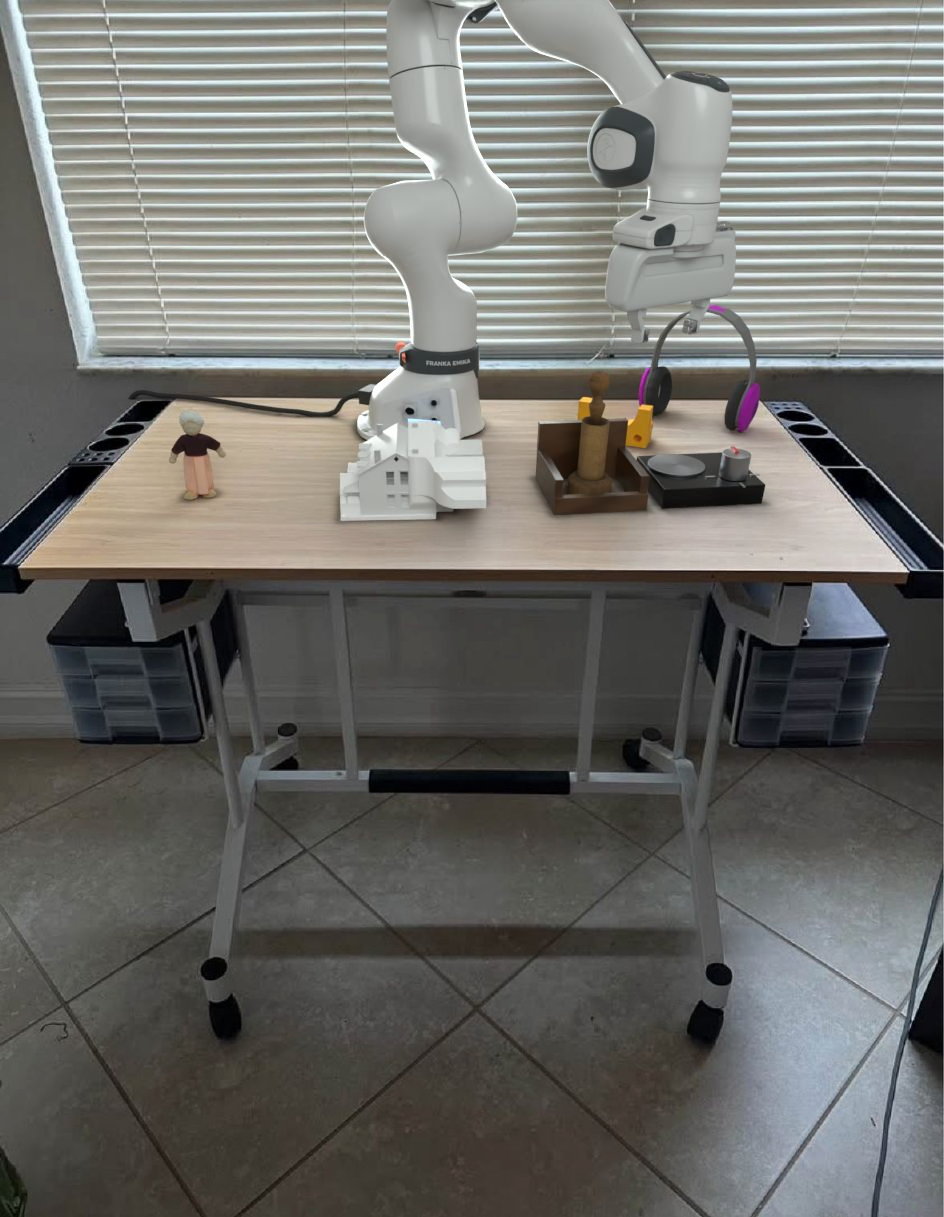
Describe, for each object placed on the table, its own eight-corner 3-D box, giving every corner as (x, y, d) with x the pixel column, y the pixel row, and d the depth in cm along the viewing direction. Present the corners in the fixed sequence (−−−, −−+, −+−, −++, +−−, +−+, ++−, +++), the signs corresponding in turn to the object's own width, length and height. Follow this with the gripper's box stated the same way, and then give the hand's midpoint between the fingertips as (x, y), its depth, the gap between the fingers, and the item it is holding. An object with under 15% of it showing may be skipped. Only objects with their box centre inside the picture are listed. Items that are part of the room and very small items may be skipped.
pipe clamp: (650, 439, 144) (655, 402, 141) (645, 448, 141) (650, 410, 137) (582, 430, 148) (585, 393, 145) (576, 438, 144) (578, 401, 141)
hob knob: (751, 481, 121) (756, 456, 119) (724, 481, 121) (728, 456, 119) (741, 470, 125) (745, 445, 123) (714, 471, 124) (719, 446, 122)
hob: (663, 510, 120) (666, 490, 118) (634, 474, 131) (637, 454, 129) (767, 505, 121) (771, 485, 120) (730, 469, 133) (733, 450, 131)
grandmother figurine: (179, 504, 120) (163, 417, 113) (174, 494, 123) (158, 409, 116) (233, 494, 123) (221, 410, 116) (227, 485, 126) (214, 402, 119)
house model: (347, 482, 127) (342, 418, 122) (479, 480, 129) (480, 417, 123) (337, 538, 111) (332, 468, 106) (489, 535, 112) (490, 465, 107)
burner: (657, 478, 122) (658, 476, 122) (640, 457, 129) (640, 455, 129) (713, 476, 123) (714, 473, 123) (693, 455, 130) (693, 452, 130)
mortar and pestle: (609, 504, 121) (622, 380, 112) (564, 500, 122) (573, 376, 113) (612, 486, 127) (624, 366, 117) (569, 482, 128) (578, 363, 118)
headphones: (758, 426, 151) (781, 309, 140) (743, 440, 144) (766, 319, 134) (649, 405, 160) (662, 295, 150) (630, 418, 154) (643, 303, 143)
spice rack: (554, 515, 118) (558, 454, 113) (535, 477, 129) (538, 421, 125) (646, 510, 120) (654, 450, 115) (620, 474, 131) (626, 418, 126)
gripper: (718, 217, 113) (701, 323, 120) (602, 227, 103) (592, 342, 110) (755, 223, 108) (736, 332, 116) (638, 234, 99) (625, 353, 106)
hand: (665, 337), depth 113 cm, fingers open, 8 cm apart
